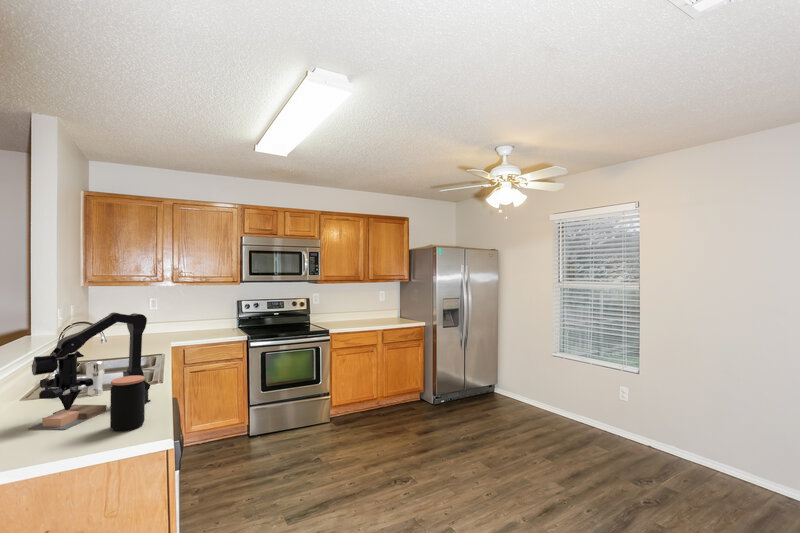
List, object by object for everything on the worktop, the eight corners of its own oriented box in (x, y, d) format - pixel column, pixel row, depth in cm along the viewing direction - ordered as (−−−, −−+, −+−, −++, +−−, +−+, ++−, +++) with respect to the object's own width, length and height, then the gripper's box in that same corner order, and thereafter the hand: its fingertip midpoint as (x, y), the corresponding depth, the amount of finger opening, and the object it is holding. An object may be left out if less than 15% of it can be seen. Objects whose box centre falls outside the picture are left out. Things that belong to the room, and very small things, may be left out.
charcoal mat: (86, 419, 159) (86, 418, 159) (64, 429, 149) (64, 428, 149) (52, 419, 159) (52, 418, 159) (28, 429, 149) (28, 428, 149)
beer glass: (94, 396, 188) (94, 364, 188) (82, 395, 189) (82, 363, 189) (108, 392, 194) (108, 361, 195) (96, 391, 196) (96, 360, 196)
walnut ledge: (106, 411, 169) (106, 405, 169) (86, 419, 159) (86, 413, 159) (74, 410, 169) (74, 404, 169) (52, 419, 159) (52, 413, 159)
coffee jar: (151, 423, 155) (151, 376, 155) (124, 434, 145) (124, 384, 145) (131, 420, 159) (131, 374, 159) (103, 430, 149) (103, 381, 149)
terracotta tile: (78, 418, 159) (78, 411, 159) (60, 426, 151) (60, 418, 151) (61, 418, 159) (61, 410, 159) (42, 426, 151) (42, 418, 151)
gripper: (68, 364, 168) (68, 401, 168) (25, 376, 149) (24, 418, 149) (94, 364, 167) (94, 402, 167) (54, 376, 149) (53, 418, 149)
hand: (67, 409), depth 158 cm, fingers closed
